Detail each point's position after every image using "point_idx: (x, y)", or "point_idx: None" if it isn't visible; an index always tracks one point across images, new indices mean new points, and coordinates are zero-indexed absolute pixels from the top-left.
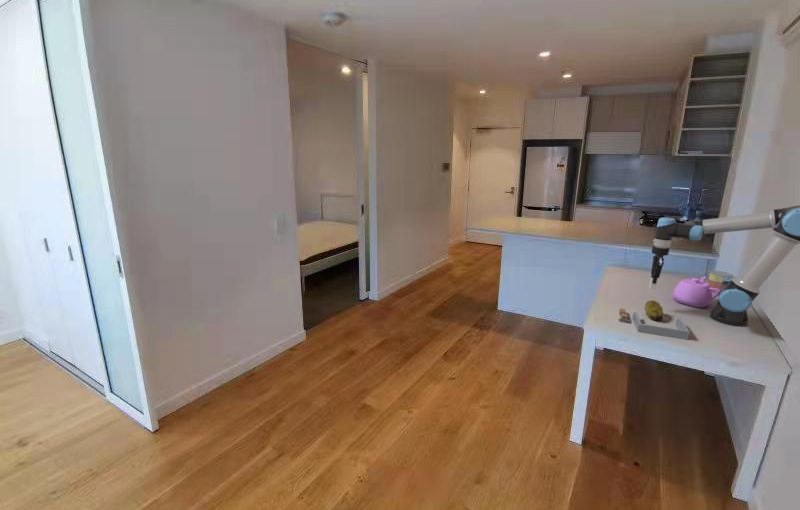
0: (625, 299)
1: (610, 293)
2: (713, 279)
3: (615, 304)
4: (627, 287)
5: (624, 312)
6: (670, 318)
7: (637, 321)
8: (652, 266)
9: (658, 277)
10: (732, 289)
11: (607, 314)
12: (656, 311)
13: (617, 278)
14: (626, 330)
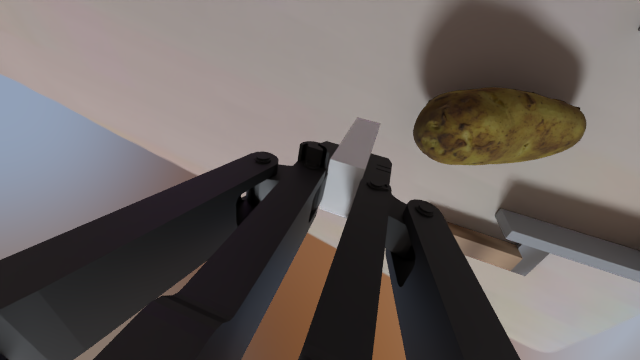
0: (272, 142)
1: None
2: None
3: None
4: (123, 70)
5: (469, 245)
6: (511, 16)
7: (632, 277)
8: (191, 264)
9: (434, 215)
10: None
11: None
12: (549, 146)
13: (44, 70)
14: (622, 292)
